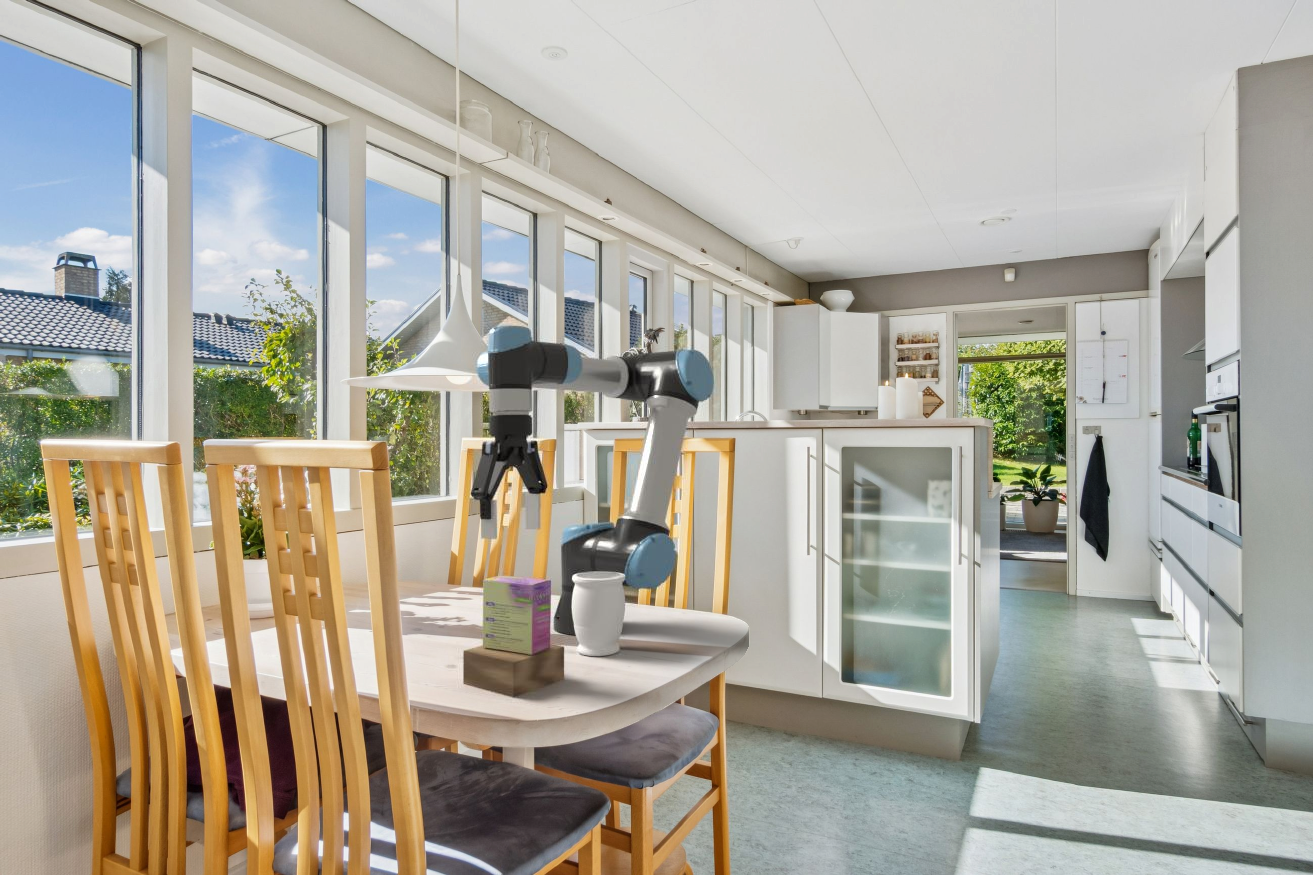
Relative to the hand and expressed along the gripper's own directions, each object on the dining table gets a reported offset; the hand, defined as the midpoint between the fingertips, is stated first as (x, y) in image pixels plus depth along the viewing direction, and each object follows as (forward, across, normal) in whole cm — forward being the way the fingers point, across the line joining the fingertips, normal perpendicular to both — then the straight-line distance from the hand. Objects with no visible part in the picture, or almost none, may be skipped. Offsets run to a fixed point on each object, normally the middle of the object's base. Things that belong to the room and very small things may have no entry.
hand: (512, 533), depth 138 cm
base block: (+25, +4, +3) cm, 26 cm away
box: (+19, +4, +3) cm, 20 cm away
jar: (+25, -19, +7) cm, 32 cm away
